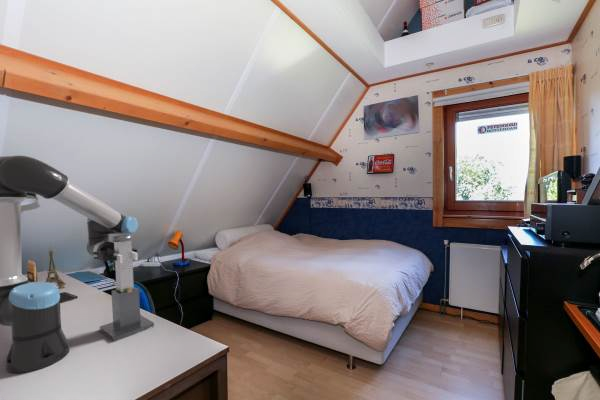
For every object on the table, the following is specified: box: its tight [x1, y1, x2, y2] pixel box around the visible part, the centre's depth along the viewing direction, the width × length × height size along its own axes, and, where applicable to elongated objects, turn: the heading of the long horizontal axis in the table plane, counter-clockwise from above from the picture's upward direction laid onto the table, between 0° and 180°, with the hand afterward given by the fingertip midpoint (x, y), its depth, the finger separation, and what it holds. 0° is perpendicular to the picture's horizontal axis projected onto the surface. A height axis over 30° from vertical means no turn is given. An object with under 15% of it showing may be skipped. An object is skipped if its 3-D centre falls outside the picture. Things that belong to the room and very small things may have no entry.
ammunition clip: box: [26, 259, 38, 283], centre depth 181 cm, size 11×2×12 cm, turn 57°
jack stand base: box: [99, 286, 155, 342], centre depth 114 cm, size 14×14×16 cm
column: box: [112, 234, 135, 293], centre depth 113 cm, size 6×6×28 cm
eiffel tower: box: [45, 243, 67, 290], centre depth 165 cm, size 11×11×25 cm
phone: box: [59, 291, 78, 304], centre depth 149 cm, size 8×1×15 cm
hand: (129, 258), depth 109 cm, fingers closed on column, 4 cm apart
